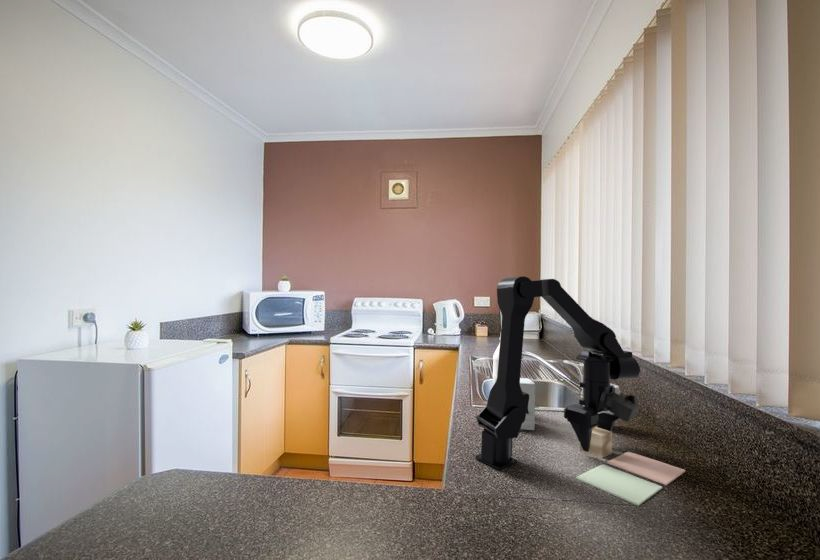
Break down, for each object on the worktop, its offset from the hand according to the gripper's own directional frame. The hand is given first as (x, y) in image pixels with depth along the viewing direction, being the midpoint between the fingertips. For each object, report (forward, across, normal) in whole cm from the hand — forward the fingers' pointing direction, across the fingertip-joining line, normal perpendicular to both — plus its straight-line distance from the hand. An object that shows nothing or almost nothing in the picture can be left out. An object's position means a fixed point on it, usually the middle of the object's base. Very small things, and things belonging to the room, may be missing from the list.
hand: (595, 446), depth 84 cm
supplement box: (+1, -1, +21) cm, 21 cm away
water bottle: (+1, +5, +31) cm, 31 cm away
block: (+1, 0, 0) cm, 1 cm away
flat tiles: (+1, -6, -10) cm, 11 cm away
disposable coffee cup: (+1, +20, +8) cm, 22 cm away
